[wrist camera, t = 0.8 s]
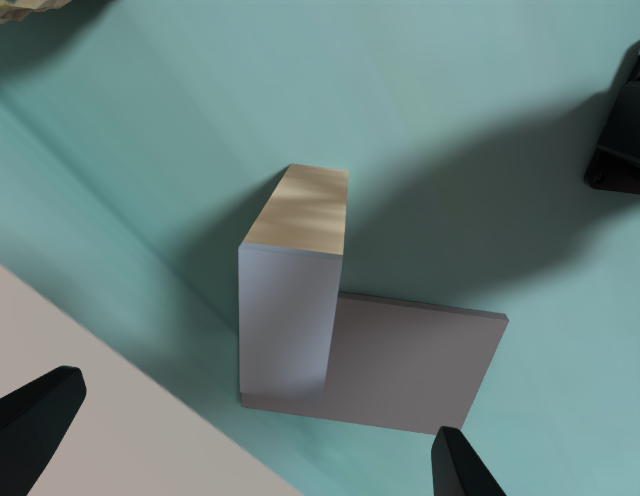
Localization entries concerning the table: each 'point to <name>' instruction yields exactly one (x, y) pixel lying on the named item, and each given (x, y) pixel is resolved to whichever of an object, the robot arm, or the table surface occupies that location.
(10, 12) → the rock
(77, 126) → the table surface
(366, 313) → the mat
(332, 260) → the wooden block
